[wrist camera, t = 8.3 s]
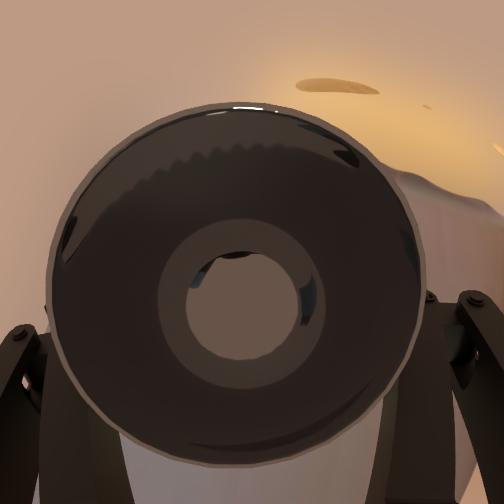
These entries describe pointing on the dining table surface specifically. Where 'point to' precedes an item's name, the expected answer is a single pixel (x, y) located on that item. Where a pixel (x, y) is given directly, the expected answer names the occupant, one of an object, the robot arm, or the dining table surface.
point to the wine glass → (236, 285)
